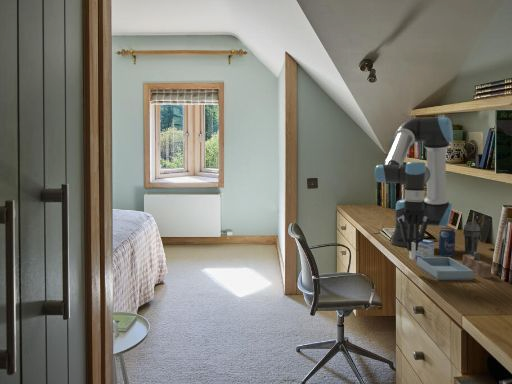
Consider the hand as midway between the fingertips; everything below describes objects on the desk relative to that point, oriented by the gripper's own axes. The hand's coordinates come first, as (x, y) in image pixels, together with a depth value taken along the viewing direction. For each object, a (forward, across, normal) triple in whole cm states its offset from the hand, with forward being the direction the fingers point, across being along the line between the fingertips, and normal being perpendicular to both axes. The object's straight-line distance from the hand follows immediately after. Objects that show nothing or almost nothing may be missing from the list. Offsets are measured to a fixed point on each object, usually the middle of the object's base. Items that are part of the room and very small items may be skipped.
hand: (412, 258), depth 201 cm
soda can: (+6, +27, +30) cm, 41 cm away
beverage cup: (+5, +38, +29) cm, 49 cm away
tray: (+6, +13, 0) cm, 14 cm away
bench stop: (+6, +27, 0) cm, 27 cm away
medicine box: (+6, +13, +22) cm, 27 cm away
